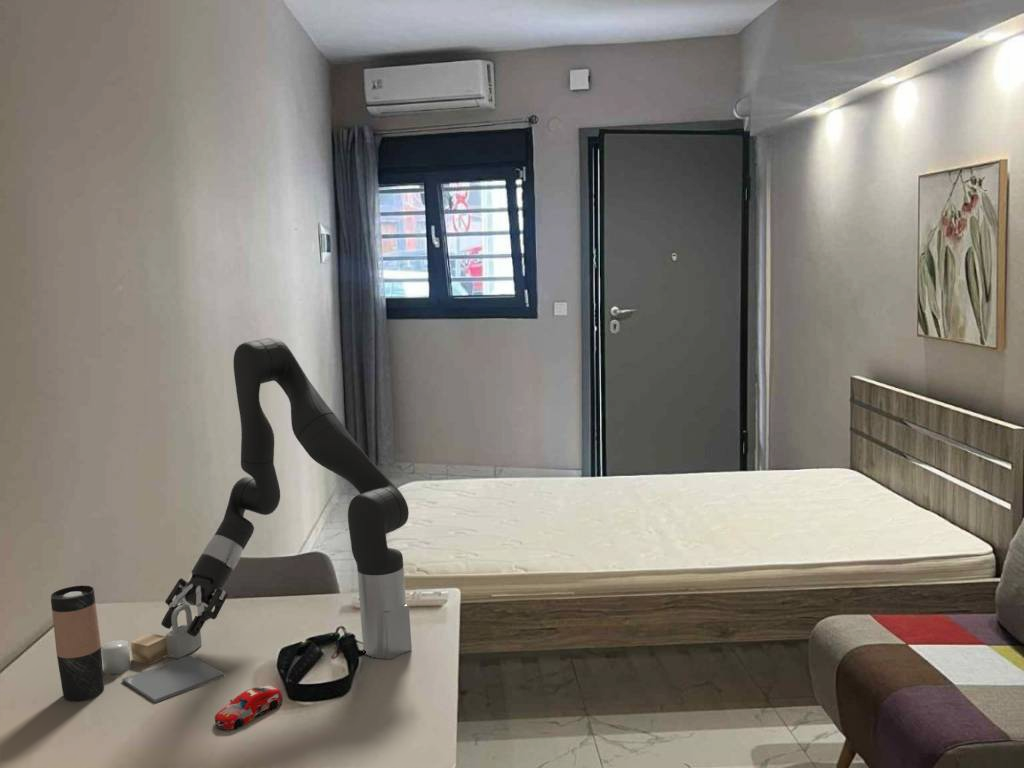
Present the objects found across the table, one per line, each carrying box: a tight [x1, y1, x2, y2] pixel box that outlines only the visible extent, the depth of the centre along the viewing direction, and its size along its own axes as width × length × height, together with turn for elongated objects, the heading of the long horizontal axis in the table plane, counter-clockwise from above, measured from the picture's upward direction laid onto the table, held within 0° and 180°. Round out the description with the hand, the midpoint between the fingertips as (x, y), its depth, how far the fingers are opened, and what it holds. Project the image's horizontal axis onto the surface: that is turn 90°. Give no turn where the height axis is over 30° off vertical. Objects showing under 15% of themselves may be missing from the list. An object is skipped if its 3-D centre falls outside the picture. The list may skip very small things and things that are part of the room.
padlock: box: [165, 604, 203, 659], centre depth 202 cm, size 7×4×10 cm, turn 157°
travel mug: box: [50, 585, 105, 702], centre depth 183 cm, size 8×8×20 cm
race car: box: [214, 685, 283, 730], centre depth 173 cm, size 13×5×4 cm, turn 143°
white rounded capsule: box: [101, 639, 132, 675], centre depth 195 cm, size 5×5×5 cm
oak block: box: [130, 632, 168, 665], centre depth 200 cm, size 5×5×4 cm
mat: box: [121, 654, 225, 703], centre depth 189 cm, size 14×14×1 cm
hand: (177, 630), depth 201 cm, fingers open, 8 cm apart
